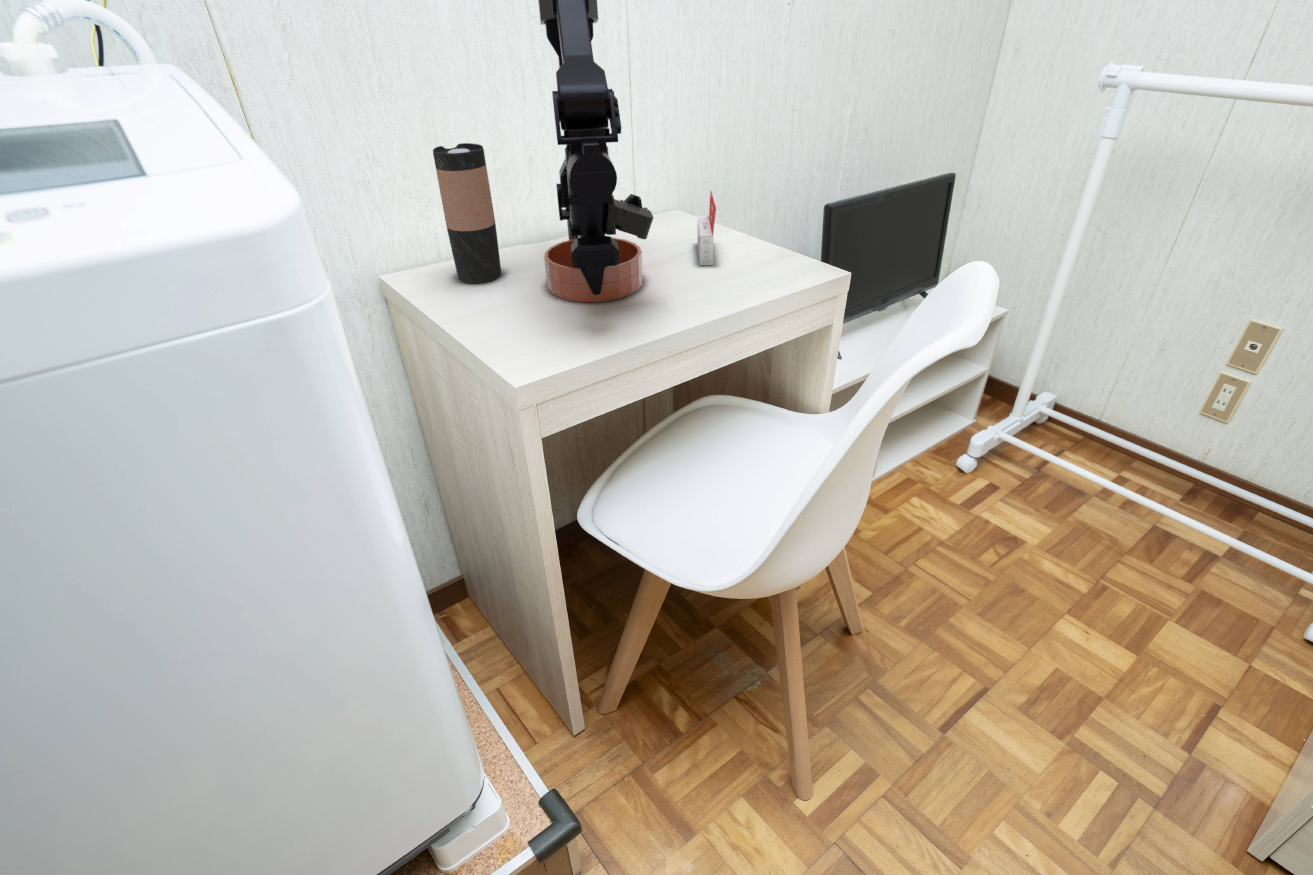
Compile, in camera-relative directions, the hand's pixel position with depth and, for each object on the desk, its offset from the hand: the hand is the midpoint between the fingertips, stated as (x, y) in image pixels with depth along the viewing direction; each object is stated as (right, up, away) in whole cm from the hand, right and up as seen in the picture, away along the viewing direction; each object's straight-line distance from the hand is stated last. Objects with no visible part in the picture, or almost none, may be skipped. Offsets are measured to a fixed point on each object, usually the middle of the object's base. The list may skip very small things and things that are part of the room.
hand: (596, 294), depth 99 cm
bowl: (-1, +4, +9) cm, 10 cm away
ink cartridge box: (+17, +11, +20) cm, 28 cm away
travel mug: (-21, +6, +13) cm, 25 cm away
